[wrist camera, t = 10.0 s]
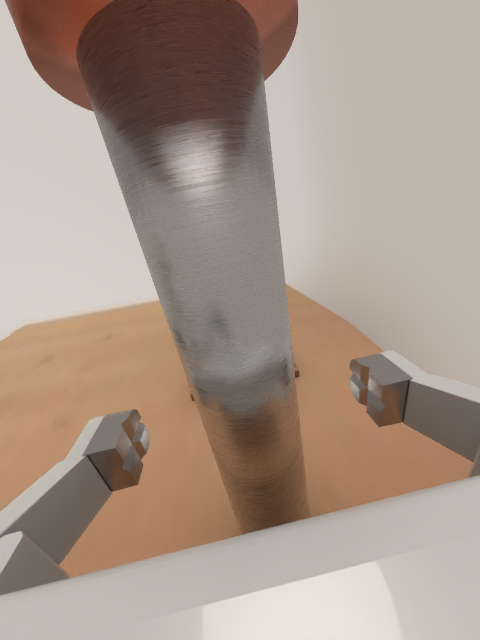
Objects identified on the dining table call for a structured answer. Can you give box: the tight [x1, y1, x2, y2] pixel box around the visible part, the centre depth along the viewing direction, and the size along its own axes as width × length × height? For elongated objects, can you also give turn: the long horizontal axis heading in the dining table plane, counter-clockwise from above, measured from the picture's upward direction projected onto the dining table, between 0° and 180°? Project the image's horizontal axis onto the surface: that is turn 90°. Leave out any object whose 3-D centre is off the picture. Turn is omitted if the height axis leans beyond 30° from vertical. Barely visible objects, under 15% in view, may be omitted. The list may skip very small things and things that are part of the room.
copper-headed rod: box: [5, 0, 310, 534], centre depth 13 cm, size 15×6×21 cm, turn 7°
